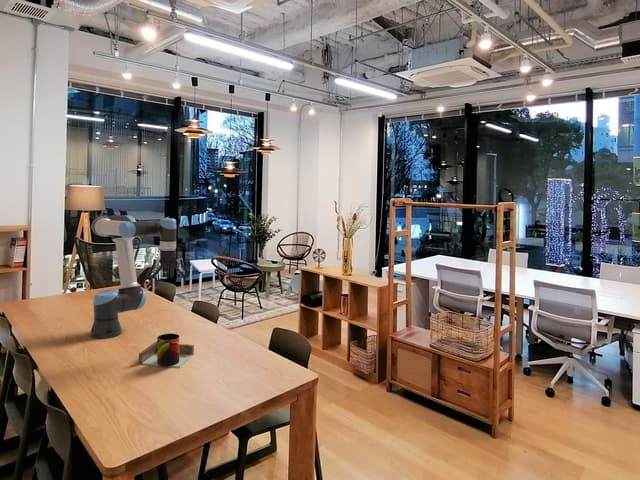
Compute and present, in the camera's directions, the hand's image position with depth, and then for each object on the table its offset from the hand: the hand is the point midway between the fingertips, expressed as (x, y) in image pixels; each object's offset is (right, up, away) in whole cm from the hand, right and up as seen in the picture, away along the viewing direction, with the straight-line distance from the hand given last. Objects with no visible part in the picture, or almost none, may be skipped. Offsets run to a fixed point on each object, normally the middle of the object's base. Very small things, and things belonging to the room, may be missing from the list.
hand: (168, 291), depth 212 cm
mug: (+6, -31, -15) cm, 35 cm away
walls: (+4, -30, -13) cm, 33 cm away
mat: (+5, -31, -13) cm, 34 cm away
